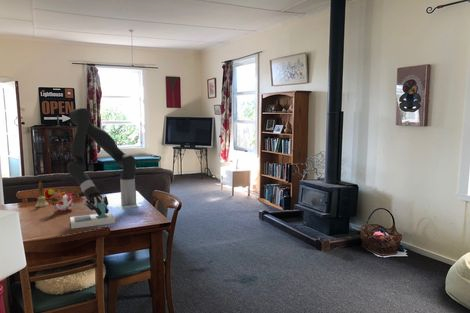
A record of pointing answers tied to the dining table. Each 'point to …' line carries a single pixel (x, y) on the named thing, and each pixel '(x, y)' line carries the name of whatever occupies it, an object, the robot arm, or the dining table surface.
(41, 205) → the hand bell
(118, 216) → the dining table surface
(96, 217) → the well board
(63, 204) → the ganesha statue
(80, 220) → the slate pad
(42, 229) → the dining table surface
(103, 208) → the teal block
